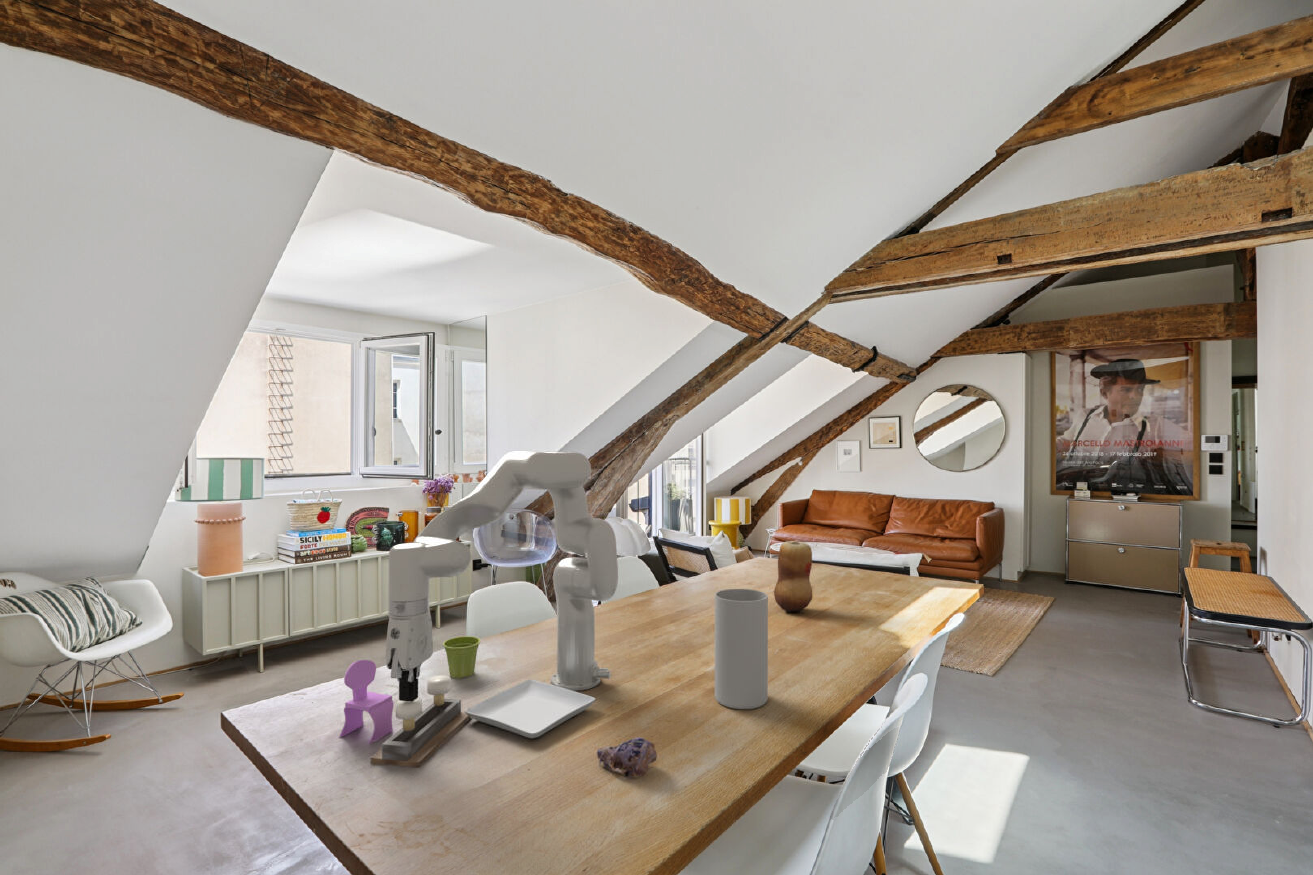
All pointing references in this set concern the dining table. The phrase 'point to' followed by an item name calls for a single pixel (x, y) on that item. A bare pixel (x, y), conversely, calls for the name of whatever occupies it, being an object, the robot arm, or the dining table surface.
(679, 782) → the dining table surface
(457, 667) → the plant pot
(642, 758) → the grey-brown rounded lump
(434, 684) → the plunger far
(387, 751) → the mount
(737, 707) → the cylinder vase
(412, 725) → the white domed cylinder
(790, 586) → the butternut squash
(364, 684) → the toy chair
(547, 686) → the salad plate
